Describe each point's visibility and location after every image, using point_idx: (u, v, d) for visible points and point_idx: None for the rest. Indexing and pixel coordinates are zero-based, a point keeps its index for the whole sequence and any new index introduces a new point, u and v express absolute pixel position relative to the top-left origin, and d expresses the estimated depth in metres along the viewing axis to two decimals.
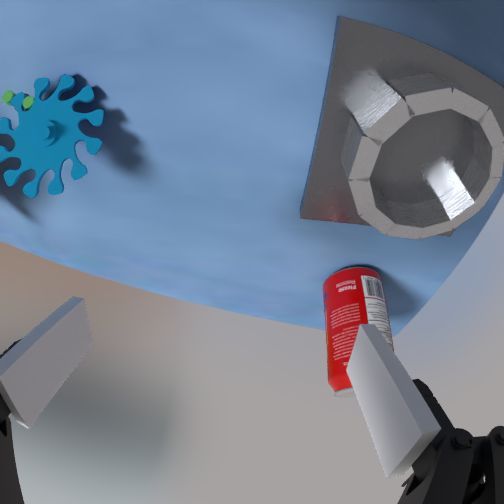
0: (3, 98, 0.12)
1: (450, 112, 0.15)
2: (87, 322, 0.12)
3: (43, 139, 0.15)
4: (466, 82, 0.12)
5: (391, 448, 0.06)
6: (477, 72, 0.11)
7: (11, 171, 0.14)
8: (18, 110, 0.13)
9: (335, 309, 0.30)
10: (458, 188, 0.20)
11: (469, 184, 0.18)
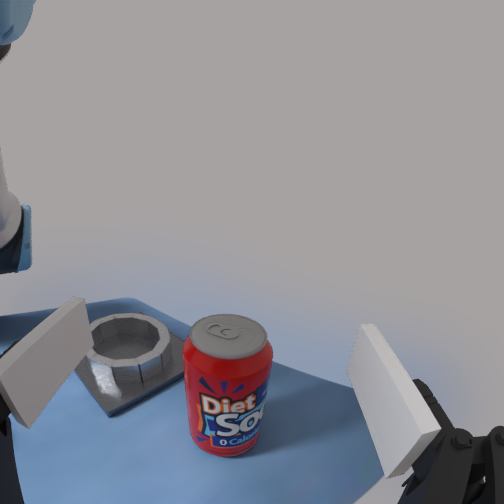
0: None
1: (117, 336, 0.41)
2: (87, 322, 0.12)
3: None
4: None
5: (391, 448, 0.06)
6: None
7: None
8: None
9: (188, 412, 0.24)
10: None
11: (156, 335, 0.41)
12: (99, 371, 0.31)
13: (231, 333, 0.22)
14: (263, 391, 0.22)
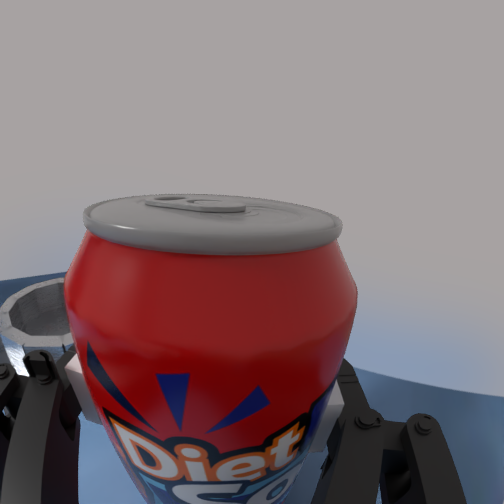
0: None
1: (61, 311, 0.25)
2: None
3: None
4: None
5: None
6: None
7: None
8: None
9: None
10: None
11: None
12: (12, 354, 0.15)
13: (221, 203, 0.07)
14: (324, 409, 0.06)
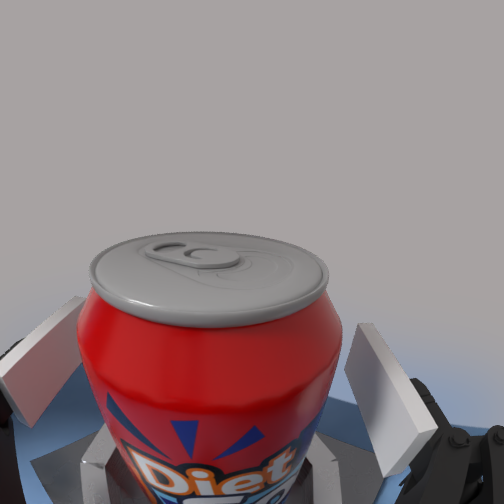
0: None
1: None
2: None
3: None
4: None
5: (388, 447, 0.07)
6: None
7: None
8: None
9: None
10: None
11: None
12: None
13: (216, 255, 0.07)
14: (313, 431, 0.07)
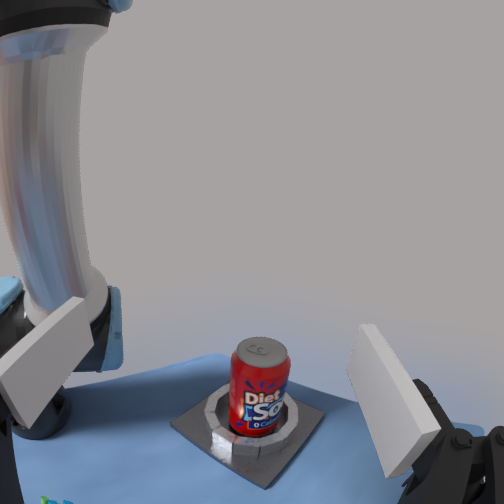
0: (41, 497, 0.14)
1: None
2: (87, 322, 0.12)
3: None
4: None
5: (391, 448, 0.06)
6: None
7: None
8: None
9: (231, 405, 0.35)
10: None
11: None
12: (241, 450, 0.31)
13: (264, 350, 0.34)
14: (284, 387, 0.34)
